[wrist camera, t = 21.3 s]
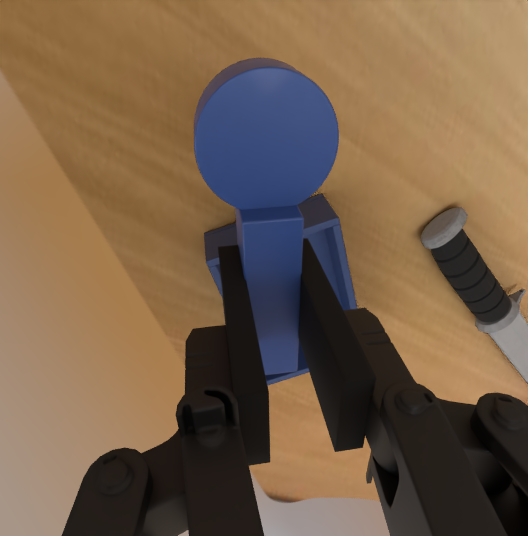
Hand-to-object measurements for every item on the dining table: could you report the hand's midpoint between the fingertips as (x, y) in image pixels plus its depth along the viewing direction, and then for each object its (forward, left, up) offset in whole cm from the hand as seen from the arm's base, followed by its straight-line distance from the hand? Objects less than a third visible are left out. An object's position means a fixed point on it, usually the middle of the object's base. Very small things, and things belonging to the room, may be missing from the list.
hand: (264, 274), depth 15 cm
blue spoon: (-2, +1, 0) cm, 2 cm away
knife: (+28, +8, -13) cm, 32 cm away
